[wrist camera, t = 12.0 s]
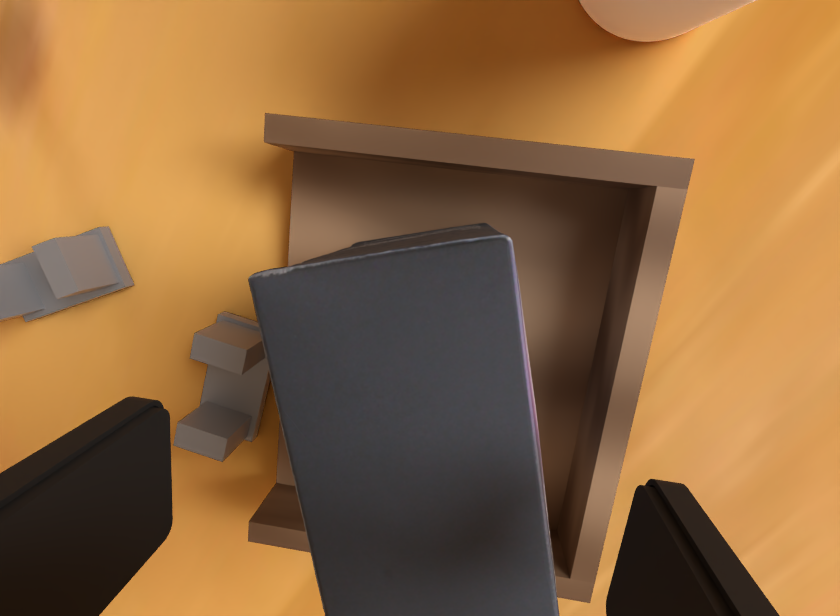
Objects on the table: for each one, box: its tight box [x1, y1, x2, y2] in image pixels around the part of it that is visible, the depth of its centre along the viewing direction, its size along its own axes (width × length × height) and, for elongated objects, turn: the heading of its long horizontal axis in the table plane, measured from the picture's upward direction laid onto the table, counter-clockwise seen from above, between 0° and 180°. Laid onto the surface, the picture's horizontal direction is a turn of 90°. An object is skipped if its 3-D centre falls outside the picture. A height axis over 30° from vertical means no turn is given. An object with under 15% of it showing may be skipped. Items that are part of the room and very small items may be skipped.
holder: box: [248, 113, 695, 603], centre depth 20 cm, size 18×15×4 cm
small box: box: [248, 223, 559, 616], centre depth 16 cm, size 11×6×10 cm, turn 9°
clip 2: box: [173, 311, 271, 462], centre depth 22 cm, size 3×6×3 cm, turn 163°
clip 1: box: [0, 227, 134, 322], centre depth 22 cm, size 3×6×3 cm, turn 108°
